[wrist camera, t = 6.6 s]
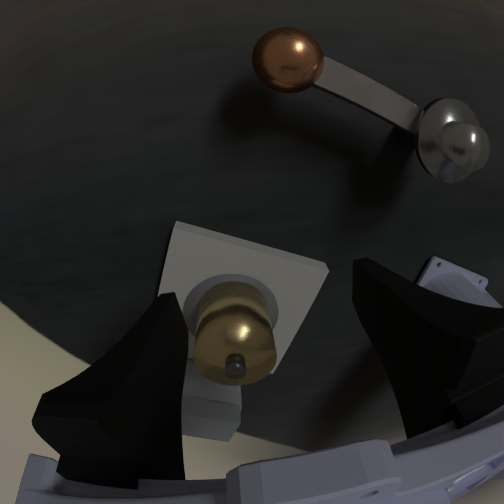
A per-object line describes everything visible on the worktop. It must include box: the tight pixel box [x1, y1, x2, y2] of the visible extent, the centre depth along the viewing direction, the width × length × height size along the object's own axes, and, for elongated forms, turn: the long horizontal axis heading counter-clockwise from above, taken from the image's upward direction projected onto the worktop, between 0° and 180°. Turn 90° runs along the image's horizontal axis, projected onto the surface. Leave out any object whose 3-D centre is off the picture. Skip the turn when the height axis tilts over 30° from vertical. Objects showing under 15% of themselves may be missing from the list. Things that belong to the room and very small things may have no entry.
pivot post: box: [396, 98, 490, 183], centre depth 15 cm, size 5×5×7 cm
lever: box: [252, 27, 423, 136], centre depth 14 cm, size 10×4×4 cm, turn 71°
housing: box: [193, 281, 277, 386], centre depth 20 cm, size 5×5×6 cm
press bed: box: [158, 221, 329, 442], centre depth 22 cm, size 11×14×7 cm
